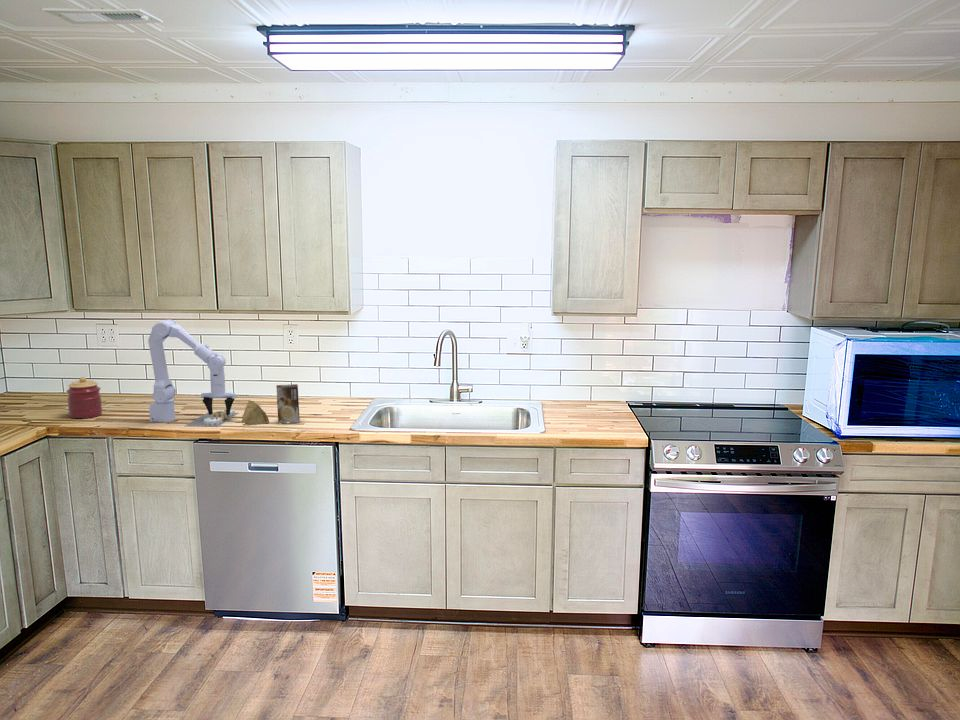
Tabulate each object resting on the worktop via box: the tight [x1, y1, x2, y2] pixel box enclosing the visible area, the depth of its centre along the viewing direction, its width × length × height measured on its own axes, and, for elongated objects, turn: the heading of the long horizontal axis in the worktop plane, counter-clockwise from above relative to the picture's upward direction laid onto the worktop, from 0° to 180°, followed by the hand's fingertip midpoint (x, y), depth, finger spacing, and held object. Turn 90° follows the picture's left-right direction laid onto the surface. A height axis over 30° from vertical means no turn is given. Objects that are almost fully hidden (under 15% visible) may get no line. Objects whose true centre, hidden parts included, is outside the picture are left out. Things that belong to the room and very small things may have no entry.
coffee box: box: [275, 383, 301, 424], centre depth 287 cm, size 9×6×16 cm
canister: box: [66, 376, 103, 419], centre depth 292 cm, size 13×13×18 cm
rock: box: [241, 400, 270, 426], centre depth 283 cm, size 11×9×10 cm
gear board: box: [185, 408, 239, 428], centre depth 286 cm, size 14×24×4 cm, turn 179°
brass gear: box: [213, 410, 227, 421], centre depth 286 cm, size 6×6×3 cm
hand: (219, 414), depth 286 cm, fingers open, 7 cm apart
